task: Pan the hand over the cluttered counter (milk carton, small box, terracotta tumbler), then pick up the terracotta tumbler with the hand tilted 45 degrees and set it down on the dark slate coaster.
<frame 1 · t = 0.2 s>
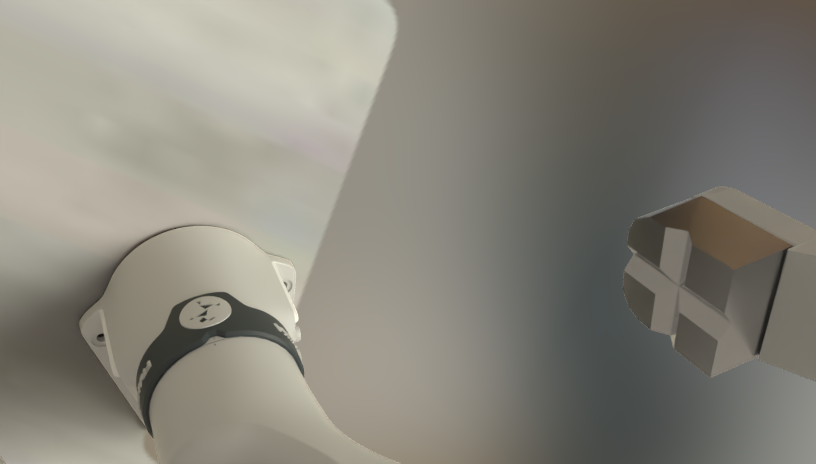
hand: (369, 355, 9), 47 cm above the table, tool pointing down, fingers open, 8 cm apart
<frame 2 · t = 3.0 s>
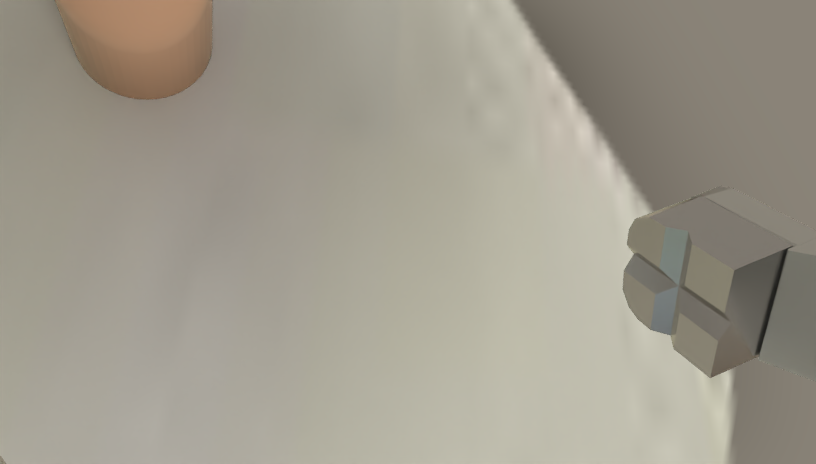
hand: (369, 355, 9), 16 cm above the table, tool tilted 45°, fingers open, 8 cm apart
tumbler: (144, 38, 25), on the table
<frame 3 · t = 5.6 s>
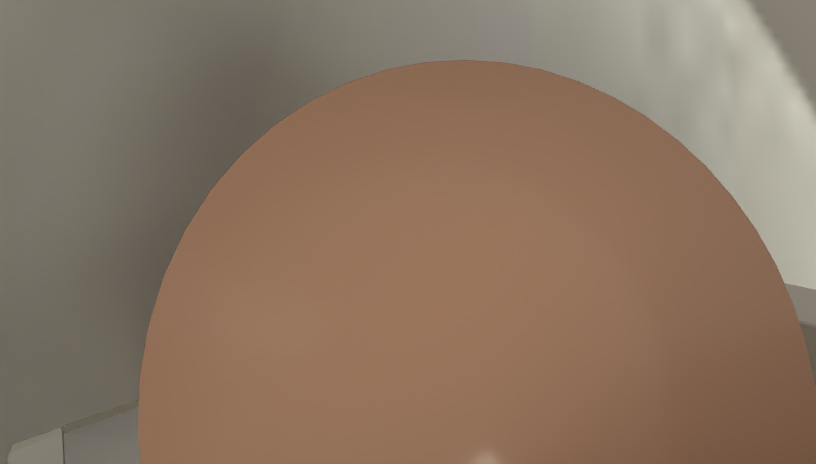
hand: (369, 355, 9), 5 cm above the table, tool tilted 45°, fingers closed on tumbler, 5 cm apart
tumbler: (330, 410, 13), on the table, touching gripper
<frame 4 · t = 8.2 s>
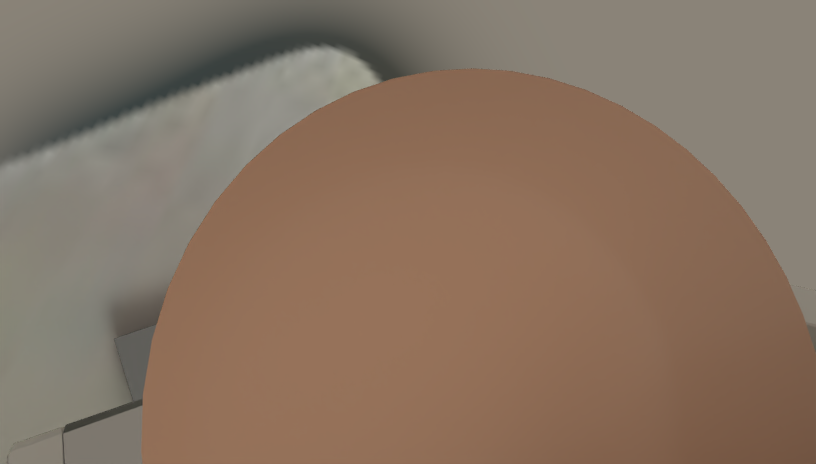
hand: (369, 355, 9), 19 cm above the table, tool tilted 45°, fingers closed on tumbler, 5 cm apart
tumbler: (332, 415, 13), point 14 cm above the table, touching gripper
coaster: (272, 410, 26), on the table
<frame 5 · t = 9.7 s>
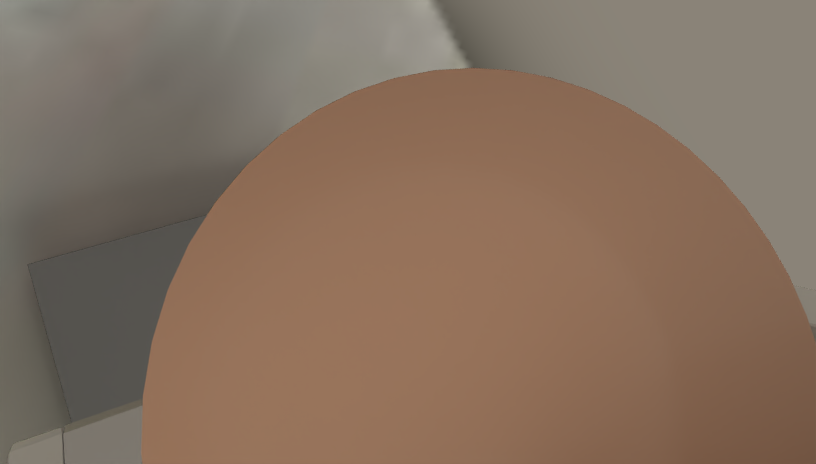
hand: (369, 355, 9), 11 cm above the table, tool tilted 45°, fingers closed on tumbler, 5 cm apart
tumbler: (333, 416, 13), point 6 cm above the table, touching gripper
coaster: (254, 374, 19), on the table
when the fingers open (7 cm above the table, at t = 11.0 s): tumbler stays where it is, resting on coaster.
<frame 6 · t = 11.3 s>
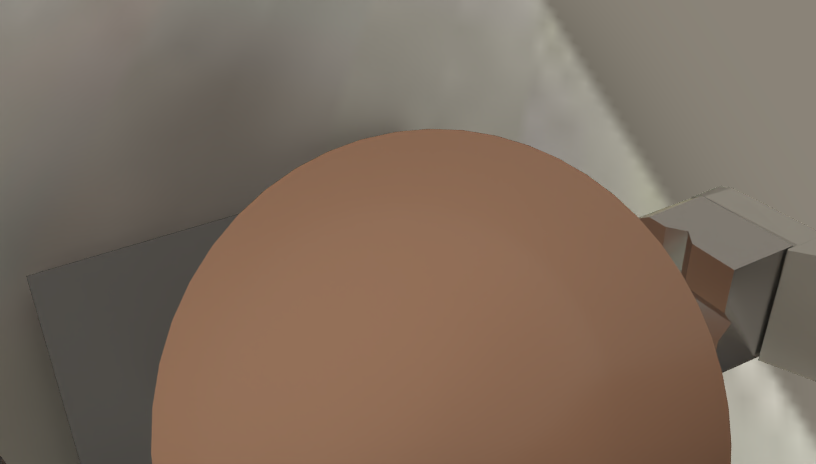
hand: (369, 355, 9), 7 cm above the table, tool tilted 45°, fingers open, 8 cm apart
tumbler: (323, 418, 14), point 1 cm above the table, touching coaster
coaster: (318, 412, 15), on the table
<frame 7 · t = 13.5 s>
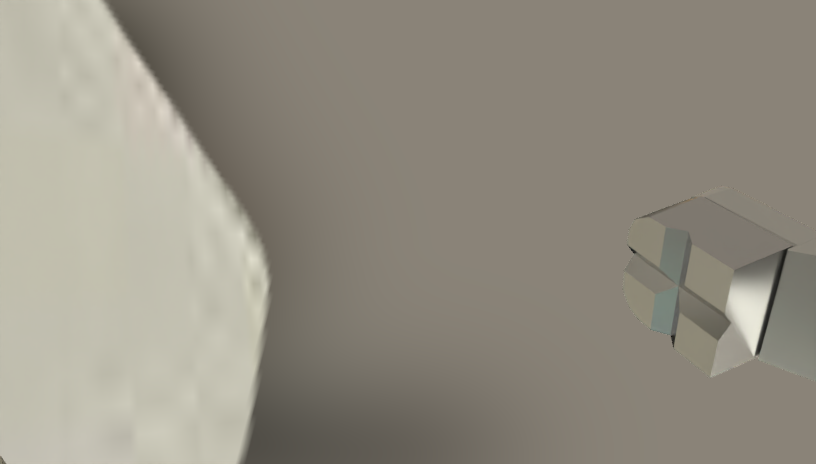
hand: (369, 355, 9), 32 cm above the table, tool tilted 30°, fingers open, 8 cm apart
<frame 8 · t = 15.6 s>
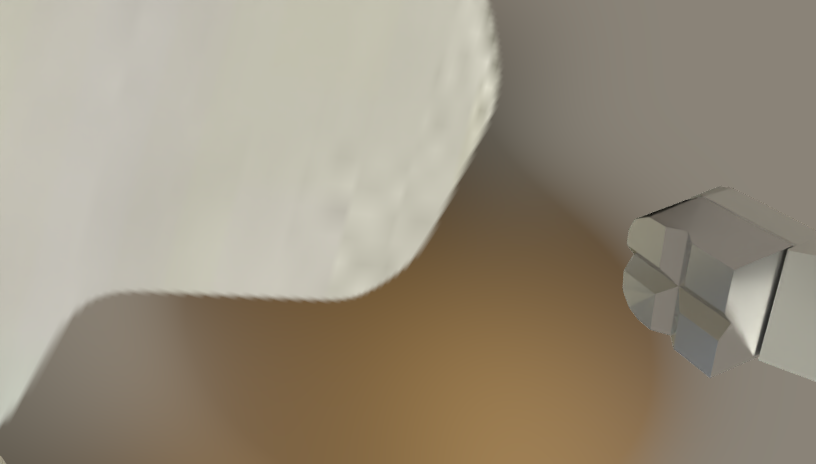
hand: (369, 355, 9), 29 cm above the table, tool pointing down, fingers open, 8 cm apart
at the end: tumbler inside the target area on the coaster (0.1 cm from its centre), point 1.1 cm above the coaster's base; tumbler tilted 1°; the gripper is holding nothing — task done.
